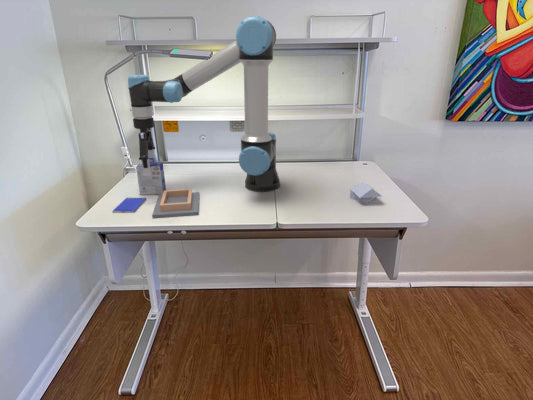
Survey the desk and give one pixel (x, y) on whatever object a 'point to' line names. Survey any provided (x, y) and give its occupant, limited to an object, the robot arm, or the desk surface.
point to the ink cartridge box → (151, 179)
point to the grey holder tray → (176, 204)
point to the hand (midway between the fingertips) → (149, 170)
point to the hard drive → (129, 205)
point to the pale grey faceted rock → (363, 192)
